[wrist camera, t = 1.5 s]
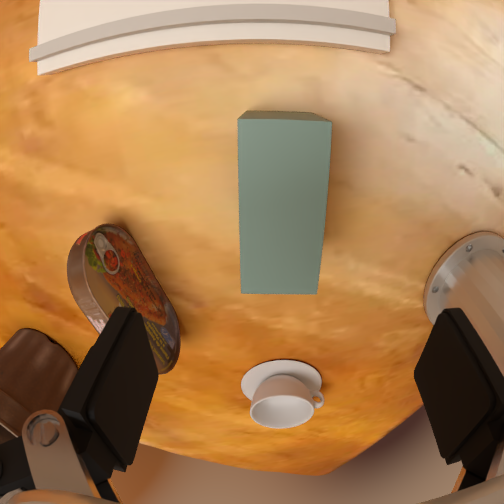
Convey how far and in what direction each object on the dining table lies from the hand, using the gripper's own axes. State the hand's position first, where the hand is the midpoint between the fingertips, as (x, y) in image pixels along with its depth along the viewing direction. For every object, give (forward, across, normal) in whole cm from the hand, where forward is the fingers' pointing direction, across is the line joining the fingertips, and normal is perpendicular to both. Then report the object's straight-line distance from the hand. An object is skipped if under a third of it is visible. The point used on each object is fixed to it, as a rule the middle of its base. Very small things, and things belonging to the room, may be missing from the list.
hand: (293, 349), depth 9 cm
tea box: (+18, 0, 0) cm, 18 cm away
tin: (+18, +13, +10) cm, 25 cm away
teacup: (+19, -1, +25) cm, 31 cm away
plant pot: (+18, +33, +25) cm, 45 cm away
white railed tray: (+18, +6, -17) cm, 26 cm away
